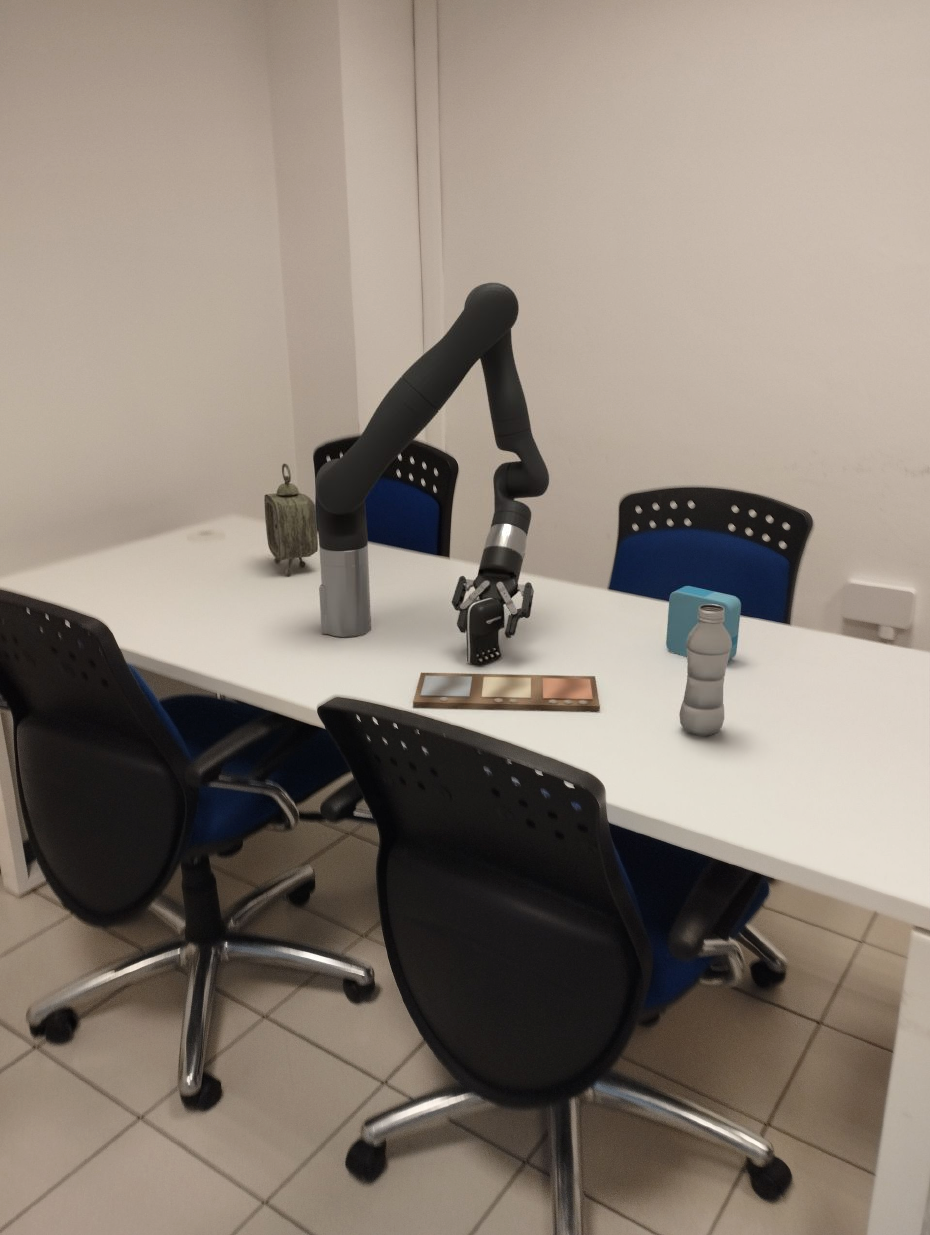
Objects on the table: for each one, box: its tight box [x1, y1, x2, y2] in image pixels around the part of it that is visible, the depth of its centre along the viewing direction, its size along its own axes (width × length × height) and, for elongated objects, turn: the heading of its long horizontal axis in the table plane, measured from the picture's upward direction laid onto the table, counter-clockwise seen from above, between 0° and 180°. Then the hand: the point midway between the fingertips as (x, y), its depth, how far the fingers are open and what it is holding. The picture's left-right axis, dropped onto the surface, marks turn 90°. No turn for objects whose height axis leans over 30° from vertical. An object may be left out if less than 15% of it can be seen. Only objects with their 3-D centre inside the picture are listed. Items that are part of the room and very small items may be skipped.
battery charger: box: [465, 598, 506, 667], centre depth 172 cm, size 7×4×11 cm, turn 133°
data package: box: [665, 585, 742, 661], centre depth 174 cm, size 12×4×12 cm, turn 49°
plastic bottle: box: [679, 604, 732, 736], centre depth 144 cm, size 6×7×20 cm
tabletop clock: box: [263, 463, 319, 577], centre depth 224 cm, size 14×9×25 cm, turn 23°
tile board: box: [412, 672, 601, 713], centre depth 160 cm, size 30×12×1 cm, turn 86°
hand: (484, 633), depth 171 cm, fingers open, 8 cm apart
